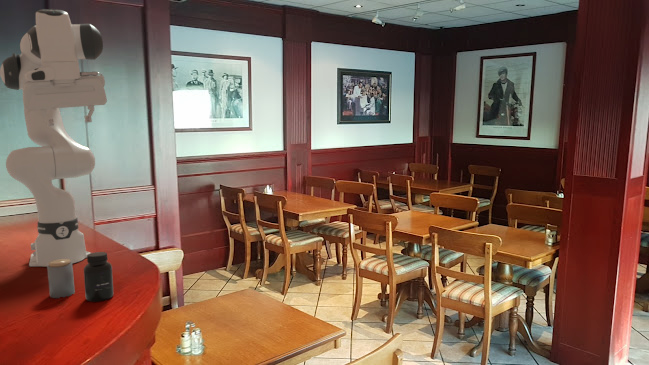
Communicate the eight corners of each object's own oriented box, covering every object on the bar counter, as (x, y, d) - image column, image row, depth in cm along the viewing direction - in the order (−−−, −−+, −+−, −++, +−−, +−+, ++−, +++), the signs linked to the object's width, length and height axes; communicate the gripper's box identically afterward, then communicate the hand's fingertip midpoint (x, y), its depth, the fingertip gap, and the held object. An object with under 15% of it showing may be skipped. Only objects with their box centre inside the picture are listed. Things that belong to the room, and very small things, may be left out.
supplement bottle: (103, 303, 125) (99, 258, 124) (80, 301, 127) (76, 257, 125) (119, 293, 132) (116, 251, 130) (97, 292, 133) (93, 250, 132)
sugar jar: (48, 293, 133) (44, 261, 132) (71, 288, 137) (69, 257, 135) (52, 299, 128) (49, 266, 127) (77, 294, 132) (74, 261, 131)
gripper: (101, 70, 138) (107, 119, 142) (17, 74, 127) (27, 126, 131) (105, 71, 133) (112, 121, 137) (18, 74, 122) (28, 129, 126)
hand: (70, 123), depth 134 cm, fingers open, 8 cm apart
